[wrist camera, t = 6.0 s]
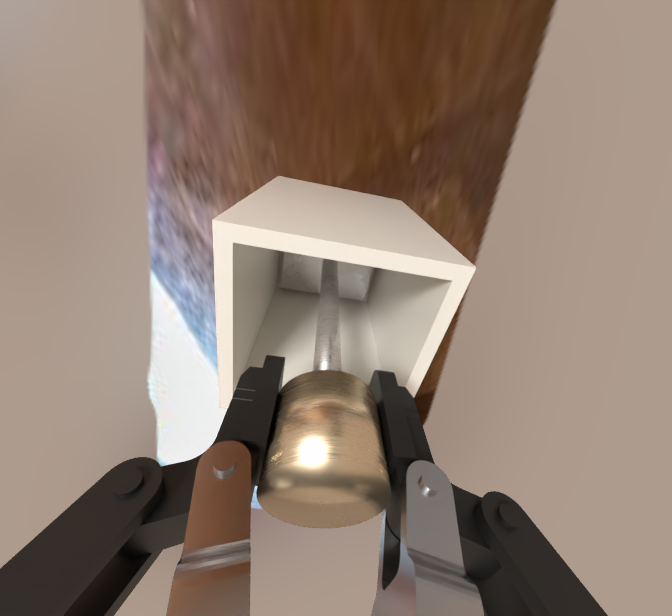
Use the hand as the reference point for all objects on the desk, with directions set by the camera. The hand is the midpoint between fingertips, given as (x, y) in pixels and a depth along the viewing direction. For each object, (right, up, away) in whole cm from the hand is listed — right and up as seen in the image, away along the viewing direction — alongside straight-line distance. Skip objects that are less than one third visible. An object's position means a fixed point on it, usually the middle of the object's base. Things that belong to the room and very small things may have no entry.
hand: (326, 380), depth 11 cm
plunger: (0, +8, +13) cm, 15 cm away
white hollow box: (0, +8, +14) cm, 16 cm away
